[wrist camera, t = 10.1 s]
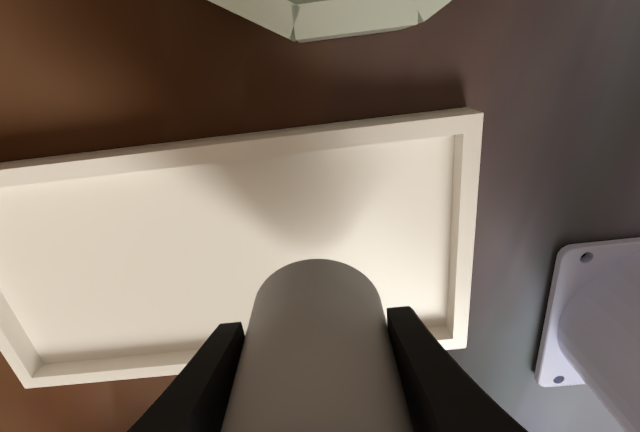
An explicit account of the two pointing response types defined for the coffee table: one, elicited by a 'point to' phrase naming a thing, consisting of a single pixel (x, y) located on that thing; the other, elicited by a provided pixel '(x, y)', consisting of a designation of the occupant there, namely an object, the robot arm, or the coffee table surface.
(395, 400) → the pebble
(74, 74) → the coffee table surface
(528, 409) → the coffee table surface
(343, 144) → the parts tray
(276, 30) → the celadon bowl
